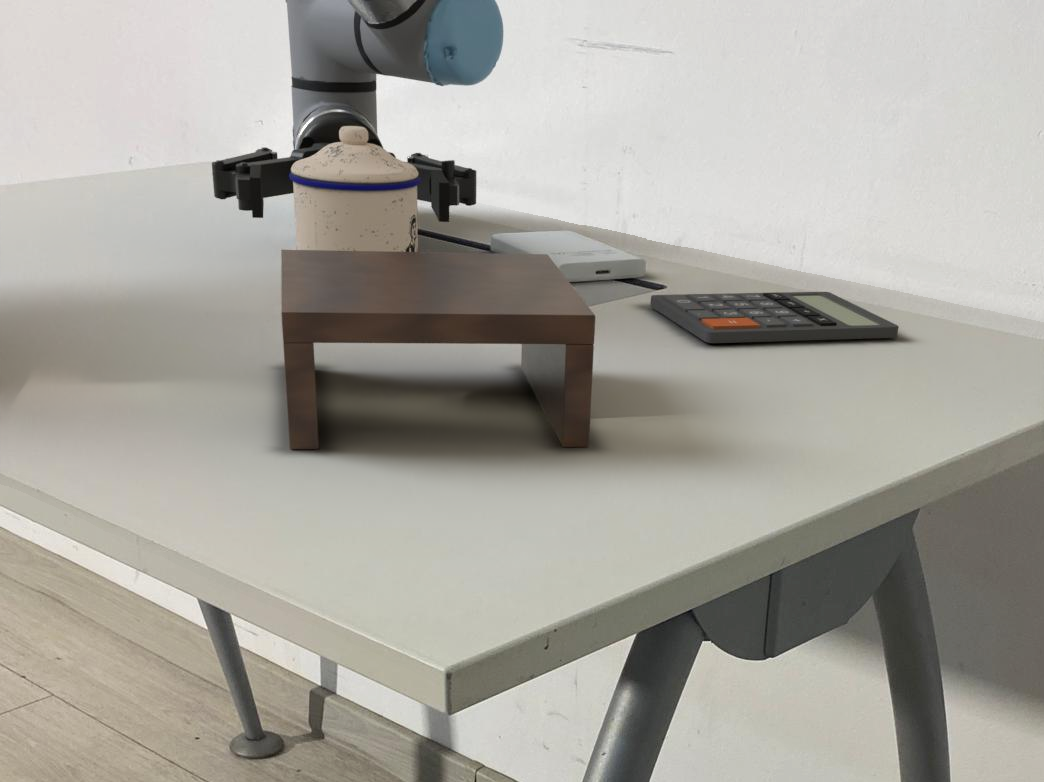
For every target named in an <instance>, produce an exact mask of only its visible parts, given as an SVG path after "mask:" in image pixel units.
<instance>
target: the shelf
mask: <svg viewBox="0 0 1044 782" xmlns="http://www.w3.org/2000/svg"><path fill="white" fill-rule="evenodd" d="M280 254H281V256H280V258H281V259H280V260H281V261H280V262H281V263H280V264H281V265H280V266H281V267H280V268H281V269H280V270H281V271H280V272H281V275H280V276H281V277H280V278H281V279H280V285H281V287H280V288H281V293H280V294H281V295H280V297H281V298H280V299H281V303H280V304H281V305H280V306H281V310H280V311H281V313H280V314H281V325H282V326H281V330H282V345H283V360H284V361H283V362H284V377H285V394H286V411H287V424H288V426H287V427H288V440H289V441H288V442H289V449H290V450H319V448H320V443H319V442H320V441H319V423H318V422H319V421H318V404H317V401H318V400H317V383H316V365H315V346H314V344H445V345H446V344H447V345H448V344H452V345H453V344H457V345H461V344H462V345H463V344H464V345H467V344H468V345H469V344H470V345H474V344H475V345H476V344H477V345H478V344H479V345H482V344H483V345H521V353H520V354H521V357H520V358H521V359H520V369H521V371H522V373H523V375H524V377H525V379H526V380H527V382H528V384H529V386H530V389H531V390H532V392H533V394H534V396H535V398H536V399H537V401H538V403H539V406H540V407H541V409H542V411H543V413H544V414H545V416H546V419H547V420H548V422H549V424H550V426H551V428H552V430H553V432H554V433H555V436H556V437H557V439H558V441H559V442H560V444H561V447H562V448H588V447H589V446H590V432H591V413H592V391H593V375H594V374H593V373H594V372H593V371H594V349H595V336H596V335H595V334H596V333H595V332H596V315H595V313H594V312H593V311H592V309H591V308H590V306H588V304H587V303H586V302H585V300H584V299H583V297H582V296H581V295H580V294H579V293H578V291H577V290H576V288H575V287H574V286H573V285H572V283H571V282H569V281H568V280H567V279H566V277H565V276H564V275H563V274H562V272H561V271H560V270H559V269H558V267H557V266H556V265H555V263H554V262H553V261H552V260H551V258H550V257H549V256H548V255H547V254H498V253H494V252H492V253H491V252H490V253H489V252H488V253H487V252H436V251H433V252H432V251H418V252H384V251H327V250H297V249H281V253H280Z"/></svg>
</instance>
